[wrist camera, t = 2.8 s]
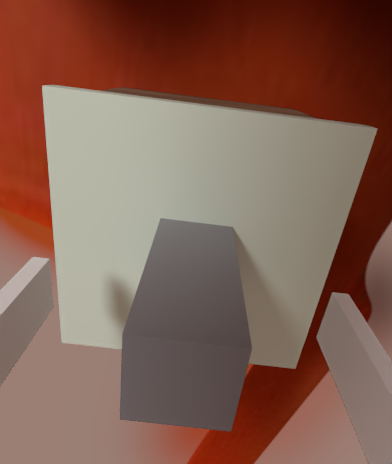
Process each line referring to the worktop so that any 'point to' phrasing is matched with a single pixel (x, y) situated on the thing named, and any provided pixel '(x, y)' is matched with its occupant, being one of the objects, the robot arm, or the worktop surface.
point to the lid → (193, 240)
